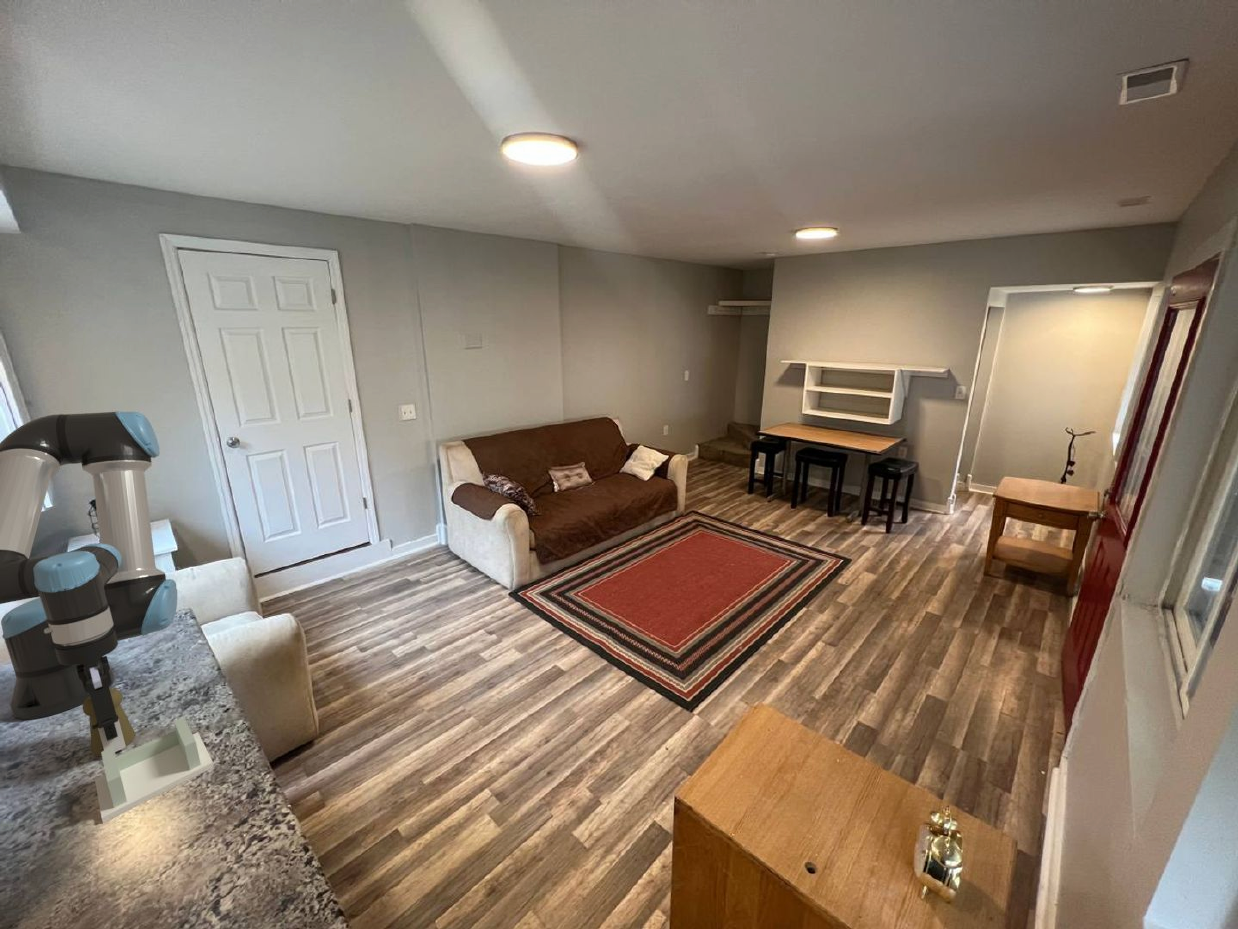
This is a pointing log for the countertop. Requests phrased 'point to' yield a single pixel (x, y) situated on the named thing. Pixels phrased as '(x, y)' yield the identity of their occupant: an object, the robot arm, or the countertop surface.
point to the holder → (150, 770)
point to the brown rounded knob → (123, 720)
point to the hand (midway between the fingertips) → (113, 742)
